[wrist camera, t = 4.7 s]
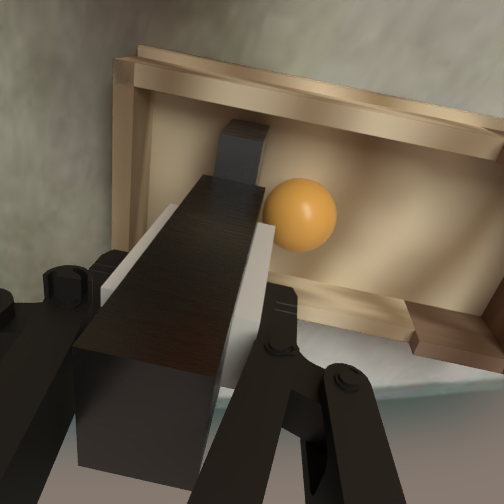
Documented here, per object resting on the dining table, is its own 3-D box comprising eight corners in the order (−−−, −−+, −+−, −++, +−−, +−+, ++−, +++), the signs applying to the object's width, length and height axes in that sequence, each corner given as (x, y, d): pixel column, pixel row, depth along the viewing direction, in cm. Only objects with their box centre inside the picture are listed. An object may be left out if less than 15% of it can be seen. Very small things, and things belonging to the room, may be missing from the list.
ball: (241, 241, 22) (299, 274, 20) (254, 172, 20) (319, 201, 18) (284, 225, 25) (338, 253, 23) (299, 164, 23) (359, 188, 21)
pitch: (135, 254, 28) (103, 294, 23) (144, 45, 21) (103, 46, 17) (479, 328, 27) (514, 383, 23) (590, 136, 21) (666, 161, 17)
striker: (206, 247, 25) (80, 509, 11) (224, 116, 21) (67, 262, 7) (252, 256, 25) (186, 533, 11) (279, 127, 21) (230, 297, 7)
